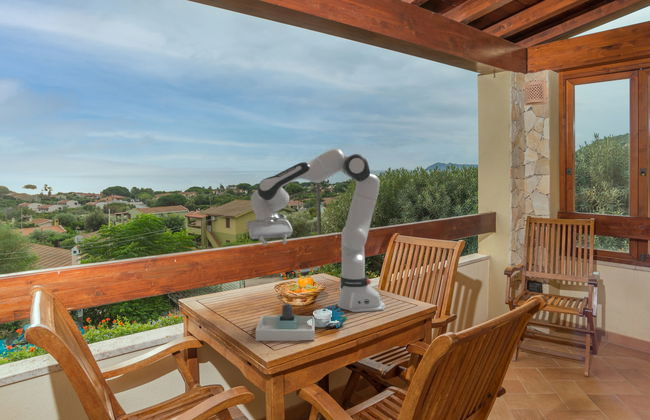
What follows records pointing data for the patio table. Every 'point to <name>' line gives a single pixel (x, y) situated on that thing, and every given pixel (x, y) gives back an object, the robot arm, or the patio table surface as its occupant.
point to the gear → (337, 315)
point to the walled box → (285, 328)
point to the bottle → (287, 312)
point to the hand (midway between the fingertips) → (275, 244)
